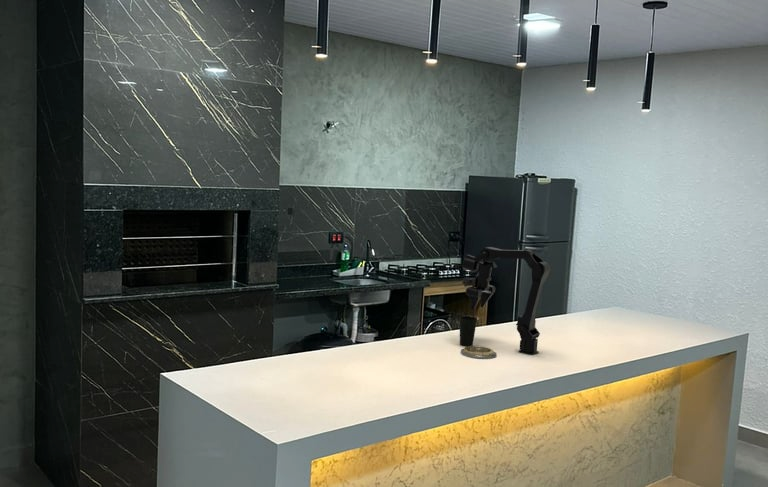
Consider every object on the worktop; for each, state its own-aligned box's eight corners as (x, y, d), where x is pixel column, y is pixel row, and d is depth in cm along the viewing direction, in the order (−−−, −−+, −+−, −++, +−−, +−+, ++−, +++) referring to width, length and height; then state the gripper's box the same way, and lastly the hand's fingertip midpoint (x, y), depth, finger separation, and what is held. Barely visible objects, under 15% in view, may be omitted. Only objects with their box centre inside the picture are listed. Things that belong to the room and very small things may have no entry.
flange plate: (503, 354, 289) (503, 350, 289) (485, 361, 277) (485, 356, 277) (472, 347, 298) (472, 343, 298) (453, 353, 286) (454, 348, 286)
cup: (469, 348, 297) (471, 320, 296) (454, 344, 302) (456, 317, 301) (478, 345, 303) (480, 318, 302) (463, 341, 308) (465, 315, 307)
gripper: (477, 268, 317) (470, 301, 320) (458, 271, 302) (451, 305, 305) (498, 274, 311) (492, 307, 314) (480, 278, 296) (473, 313, 299)
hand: (477, 308), depth 308 cm, fingers open, 9 cm apart
